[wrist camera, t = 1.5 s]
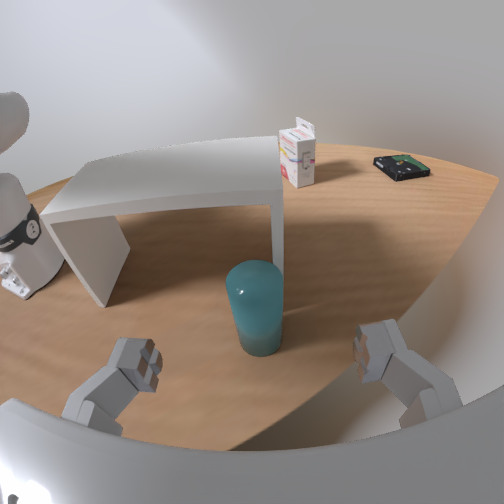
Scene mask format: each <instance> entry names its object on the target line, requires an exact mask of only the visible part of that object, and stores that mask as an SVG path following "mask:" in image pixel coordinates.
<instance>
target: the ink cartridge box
mask: <svg viewBox="0 0 504 504" xmlns="http://www.w3.org/2000/svg"><path fill="white" fill-rule="evenodd" d="M296 124H297V128H292V129H284V130H280V131H279V132H280V158H281V174H283V175H284V176H285V177H286V178H287V179H288V180H289V181H290V182H291V183H292V184H293V185H294V186H295V187H296V188H300V187H304V186H307V185H311V184H314V169H315V141H316V140H315V128H314V125H313V124H311V123H309V122H307V121H305V120H303V119H301V118H299V117H296ZM302 124H305V125H306V126H307V127H308V129H307V128H305V127H303V126H302Z"/></svg>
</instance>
